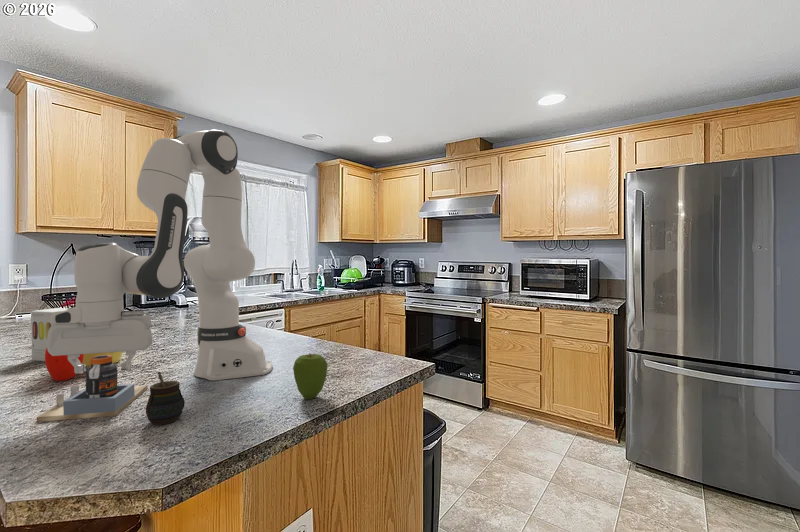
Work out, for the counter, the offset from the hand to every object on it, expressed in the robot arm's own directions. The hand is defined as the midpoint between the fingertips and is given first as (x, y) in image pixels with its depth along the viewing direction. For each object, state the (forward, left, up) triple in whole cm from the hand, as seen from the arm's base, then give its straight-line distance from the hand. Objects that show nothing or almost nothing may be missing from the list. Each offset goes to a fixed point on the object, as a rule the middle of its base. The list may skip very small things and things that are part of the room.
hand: (103, 371), depth 93 cm
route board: (+3, -3, -9) cm, 10 cm away
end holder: (0, +1, -9) cm, 9 cm away
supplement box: (+39, -56, -9) cm, 68 cm away
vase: (+21, -45, -9) cm, 51 cm away
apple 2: (-47, +4, -9) cm, 48 cm away
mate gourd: (-16, +11, -9) cm, 21 cm away
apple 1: (+22, -27, -9) cm, 36 cm away
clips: (+8, -4, -8) cm, 12 cm away
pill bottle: (0, 0, -8) cm, 8 cm away
